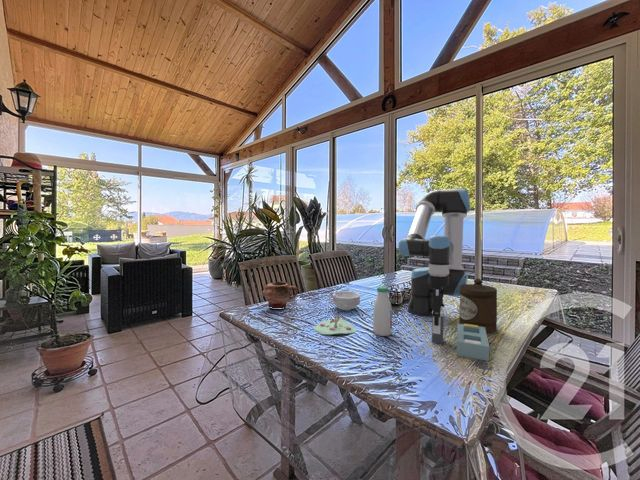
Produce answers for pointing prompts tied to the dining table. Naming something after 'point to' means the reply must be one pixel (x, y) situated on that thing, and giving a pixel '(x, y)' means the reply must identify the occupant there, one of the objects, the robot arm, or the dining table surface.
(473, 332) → the socket block
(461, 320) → the wooden container
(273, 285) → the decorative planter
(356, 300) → the paper bowls
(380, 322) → the milk bottle
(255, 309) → the dining table surface
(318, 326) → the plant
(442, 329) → the plug
